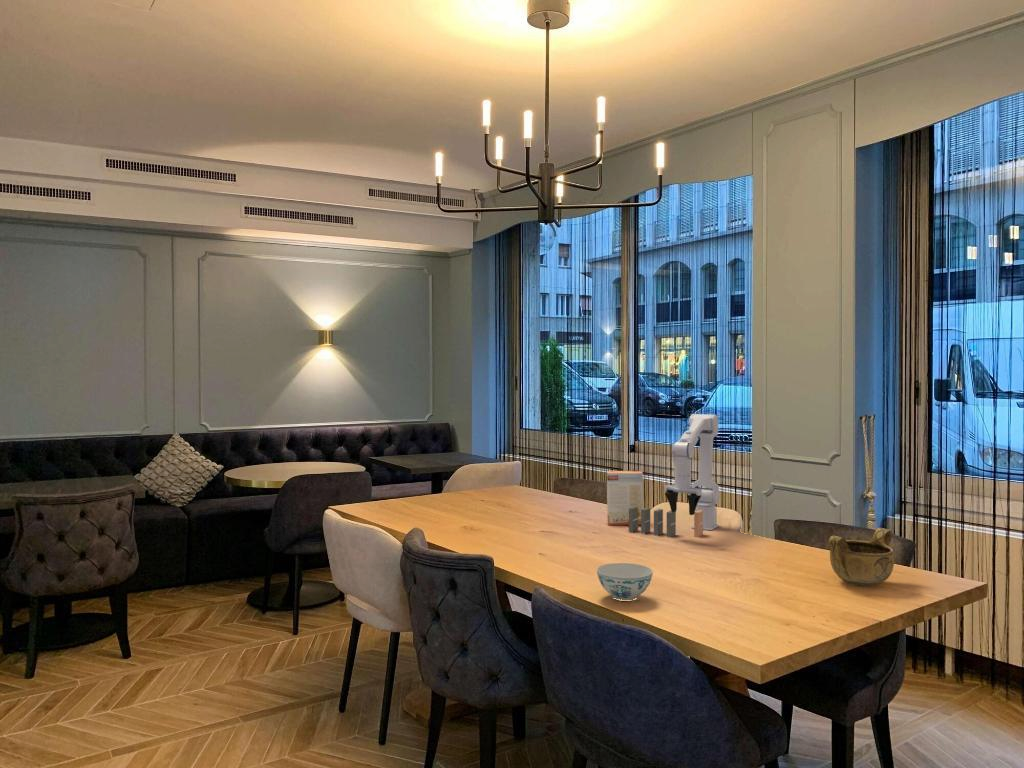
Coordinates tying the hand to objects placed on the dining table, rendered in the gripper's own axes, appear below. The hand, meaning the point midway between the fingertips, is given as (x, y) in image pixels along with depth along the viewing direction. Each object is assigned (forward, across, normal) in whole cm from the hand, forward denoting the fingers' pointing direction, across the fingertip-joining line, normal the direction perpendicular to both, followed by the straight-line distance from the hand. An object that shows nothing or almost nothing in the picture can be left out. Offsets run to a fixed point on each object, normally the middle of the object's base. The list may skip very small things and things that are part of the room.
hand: (682, 513), depth 275 cm
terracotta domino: (+10, -1, +11) cm, 15 cm away
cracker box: (+10, -32, +8) cm, 35 cm away
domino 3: (+10, -8, +4) cm, 13 cm away
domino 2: (+10, -12, +2) cm, 16 cm away
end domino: (+10, -22, 0) cm, 24 cm away
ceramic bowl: (+10, +67, -10) cm, 68 cm away
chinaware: (+10, +28, -69) cm, 75 cm away
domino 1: (+10, -17, +1) cm, 20 cm away
